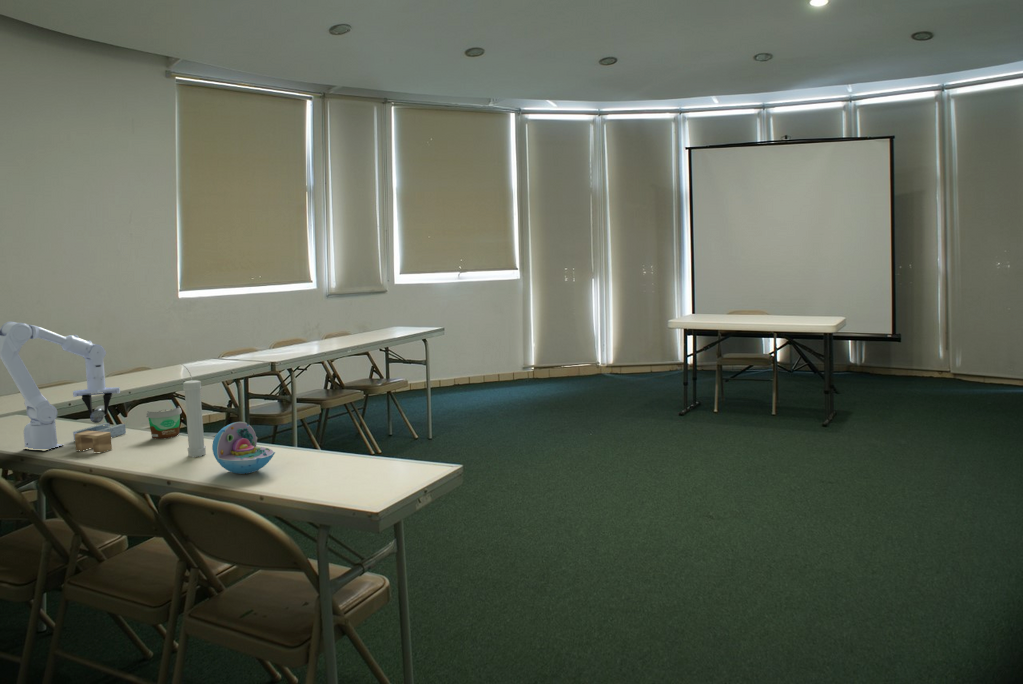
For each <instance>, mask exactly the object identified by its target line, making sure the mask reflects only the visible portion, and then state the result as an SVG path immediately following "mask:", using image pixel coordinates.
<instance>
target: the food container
mask: <svg viewBox="0 0 1023 684" xmlns="http://www.w3.org/2000/svg"><path fill="white" fill-rule="evenodd" d="M182 412H183V411H182V408H181V407H180V405H177V407H176V408H172V409H162V410H158V411H147V412H146V418H147V419H148V422H149V423H148V424H149V428H150V434H151V438H152V439H153V438H156V439H155V440H163V439H164V438H166V439H171V437H172V438H176V437H178V436H179V435H180V423H181V420H180V419H181V414H182ZM178 434H179V435H178ZM177 435H178V436H177Z"/></svg>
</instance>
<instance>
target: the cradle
mask: <svg viewBox="0 0 1023 684" xmlns="http://www.w3.org/2000/svg"><path fill="white" fill-rule="evenodd" d="M103 425H105V426H103ZM126 429H127V428H126V424H125V423H120V424H116V425H113V426H110V422H103V423H99V424H97V425H93V426H89V427H85V428H82V429H79V430H78V429H77V430H74V431H72V433H73V441H74V440H75V434H76V433H80V432H84V431H101V432H111V437H112V438H116V437H118V435H119V436H123V435H126V433H127V431H126ZM115 436H116V437H115Z"/></svg>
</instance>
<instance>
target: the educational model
mask: <svg viewBox="0 0 1023 684" xmlns="http://www.w3.org/2000/svg"><path fill="white" fill-rule="evenodd" d="M256 435H257V434H256V432H255V430H254V428H253V427H252V426H251V425H250V424H248V423H247V422H245V421H236V422H232V423H230V424H227V425H226V426H223V427H222V428H221V429H220V430H219V431H218V432H217V434H216V435H215V436H214V438H213V439H212V440H213V441H212V447H211V449H212V454H213V456H214V458H215V460H216V462H217V463H218V464H219V465H220V466H221V467H222V468H223V469H224V470H226V471H228V472H230V473H233V474H239V475H240V474H242V475H244V474H245V473H246V474H251V473H254V472H257V471H259V470H261V469H262V468H264V467H265V466H266V465H267V464H269V462H270V461H271V460H272V459H273V457H274V455H275V454H276V451H274V450H273V449H271V448H269V447H264V446H257V443H258V437H257V436H256Z"/></svg>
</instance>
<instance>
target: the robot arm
mask: <svg viewBox="0 0 1023 684" xmlns="http://www.w3.org/2000/svg"><path fill="white" fill-rule="evenodd" d="M30 339H31V340H35V339H39V340H43V341H47V342H50V343H53V344H56V345H59V346H60V347H61V348H62V351H65V352H68V353H70V354H74V355H76V356H80V357H82V358H83V359H84V362H85V363H84V364H85V375H86V389H78V390H73V391H72V396H73V398H75V397H81V399H82V401H83V403H84V404H85V406H86V408H87V410H88V413H89V416H90V415H91V414H92V412H93V411H94V410H93V403H92V401H93V400H92V396H98V395H99V396H101V395H103V396H102V398H103V406H104V412H105V416H106V415H108V414H109V413H108V410H109V405H110V402H111V399H112V396H113V394H120V393H121V387H119V386H118V387H106V386H107V385H106V377H105V376H106V374H105V363H104V359H105V357H106V355H107V350H105V348H104V346H102V345H101V344H97V343H93V341H92V340H90V339H88V340H85V339H83V338H80V337H79V335H77V334H73V335H71V334H69V335H66V336H63V335H61V334H59V333H57V332H54V331H51V330H49V329H45V328H43V327H40V326H37V325H33V324H28V323H24V322H16V321H6V322H5V323H3V324H2V326H1V327H0V360H1V362H2V363H3V366H4V367H5V369H6V370H7V372H8V374H9V375H10V377H11V378H12V380H13V383H14V384H15V386H16V387H17V389H18V391H19V392H20V394H21V396H22V398H23V399H24V406H25V408H26V416H27V417H28V418H29V419H30V422H28V423H26V424H25V426H24V428H23V440H24V448H25V447H28V448H33V449H51V448H55V447H58V448H60V447H59V446H62V445H64V446H65V444H63V443H61V444H60V443H58V436H57V425H56V424H57V423H56V419H57V417H58V410H57V408H56V407H55V405H52V404H51V403H50V402H49V400H48V399H47V398H46V397H45V396H44V395H43V394H42V392H41V390H40V389H39V387H38V386H37V384H36V381H35V380H34V378H33V376H32V374H31V373H30V372H29V369H28V368H27V366H26V365H25V362H24V361H23V359H22V358H21V356H20V354H19V353H20V351H21V349H22V347H23V346H24V345H25V344H26V343H27V342H28V341H29V340H30ZM62 447H63V446H62ZM55 449H56V448H55ZM51 450H52V449H51Z"/></svg>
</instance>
